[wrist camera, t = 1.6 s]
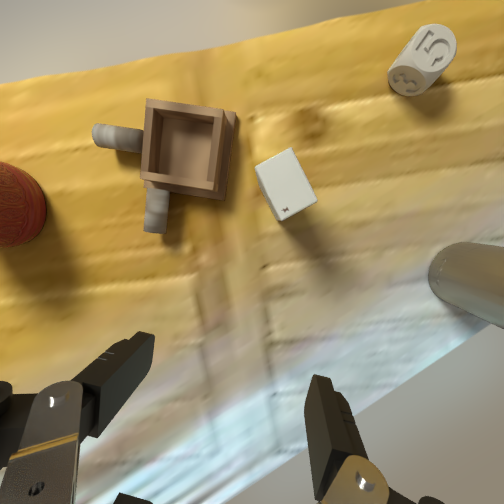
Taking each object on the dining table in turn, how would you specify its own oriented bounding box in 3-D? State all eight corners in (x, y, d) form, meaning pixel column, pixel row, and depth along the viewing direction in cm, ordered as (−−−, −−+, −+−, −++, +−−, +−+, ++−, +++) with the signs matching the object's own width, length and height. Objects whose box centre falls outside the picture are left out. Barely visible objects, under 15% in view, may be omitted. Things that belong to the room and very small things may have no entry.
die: (405, 45, 31) (431, 13, 26) (435, 68, 31) (467, 40, 26) (380, 81, 32) (401, 56, 27) (410, 102, 32) (436, 82, 27)
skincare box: (302, 207, 35) (320, 202, 23) (276, 220, 36) (280, 223, 24) (283, 169, 34) (292, 144, 23) (257, 183, 35) (252, 167, 23)
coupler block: (236, 115, 34) (232, 101, 30) (219, 240, 36) (213, 243, 33) (114, 97, 34) (94, 82, 30) (106, 221, 37) (87, 222, 33)
